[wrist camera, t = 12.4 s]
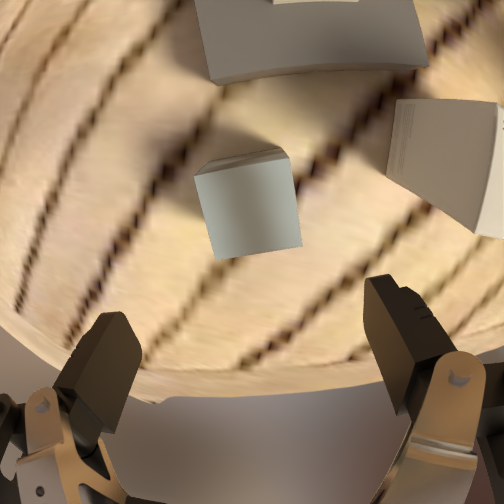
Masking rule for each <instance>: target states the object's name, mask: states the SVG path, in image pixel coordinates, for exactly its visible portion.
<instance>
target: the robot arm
mask: <svg viewBox="0 0 504 504" xmlns="http://www.w3.org/2000/svg"><path fill="white" fill-rule="evenodd" d="M363 323H364V330H365V334H366V336H367V339H368V341H369V344H370V346H371V349H372V351H373V354H374V356H375V359H376V361H377V364H378V367H379V369H380V372H381V374H382V377H383V380H384V382H385V385H386V388H387V390H388V393H389V396H390V399H391V402H392V404H393V407H394V410H395V413H396V416H399V415H403V414H406V413H409V415H410V418H411V424H410V426H409V428H408V430H407V433H406V435H405V438H404V440H403V442H402V444H401V447H400V449H399V451H398V453H397V455H396V457H395V460H394V461H393V463H392V465H391V467H390V469H389V471H388V473H387V475H386V477H385V479H384V480H383V482H382V484H381V485H380V487H379V489H378V490H377V492H376V494H375V495H374V497H373V498H372V500H371V502H370V503H369V504H464V501H465V499H466V496H467V494H468V491H469V488H470V485H471V482H472V479H473V476H474V473H475V469H476V466H477V454H476V453H473V443H474V440H475V437H476V438H477V441H478V444H479V446H480V450H481V453H482V456H483V459H484V462H485V465H486V469H487V472H488V476H489V479H490V483H491V487H492V490H493V495H494V499H495V503H496V504H504V362H502V363H493V364H482V362H481V361H480V360H479V359H478V358H477V357H476V356H474V355H472V354H470V353H468V352H463V351H458V350H457V349H456V347H455V346H454V344H453V343H452V341H451V340H450V338H449V336H448V335H447V333H446V332H445V330H444V329H443V328H442V326H441V325H440V323H439V322H438V320H437V319H436V317H434V316H433V313H432V312H431V310H430V309H429V307H428V308H427V305H426V303H425V302H424V301H423V299H422V298H421V296H420V295H419V294H418V293H416V292H414V291H413V290H411V289H410V288H408V287H407V286H406V287H401V288H399V286H398V285H397V283H396V282H395V281H394V279H393V278H392V276H391V275H390V274H385V275H379V276H374V277H369V278H366V279H365V284H364V310H363ZM141 360H142V349H141V345H140V343H139V341H138V339H137V337H136V335H135V334H134V332H133V330H132V328H131V326H130V324H129V322H128V320H127V318H126V316H125V315H124V313H122V312H120V311H119V312H107V313H101V314H100V315H99V317H98V318H97V320H96V321H95V323H94V324H93V326H92V328H91V329H90V330H89V331H88V332H87V333H86V334H85V335H83V336H82V338H81V339H80V341H79V343H78V344H77V346H76V349H74V351H73V352H72V354H71V357H69V359H68V361H67V362H66V364H65V366H64V368H63V369H62V371H61V373H60V374H59V376H58V378H57V380H56V381H55V383H54V385H53V387H52V388H51V387H43V388H40V389H38V390H36V391H35V392H34V393H33V394H32V395H31V396H30V397H29V399H28V401H27V403H23V404H16V403H15V402H14V401H13V400H12V399H11V397H10V396H9V395H7V394H0V463H1V460H2V458H3V455H4V453H5V450H6V448H7V446H8V443H9V441H11V442H12V443H13V444H14V445H15V446H16V447H17V448H18V449H20V450H21V451H22V452H23V454H22V456H21V458H18V459H17V461H16V473H15V476H14V479H13V480H12V481H10V480H8V479H7V478H5V477H4V476H3V474H2V473H1V470H0V504H166V503H161V502H155V501H150V500H144V499H140V498H135V497H131V496H130V495H129V494H128V493H127V492H126V491H125V490H124V489H123V488H122V486H121V484H120V483H119V481H118V479H117V476H116V474H115V471H114V469H113V466H112V464H111V461H110V459H109V456H108V454H107V451H106V449H105V446H104V443H103V441H102V439H101V438H99V436H100V433H101V432H106V433H111V434H115V431H116V428H117V425H118V422H119V419H120V416H121V413H122V411H123V408H124V405H125V402H126V400H127V397H128V394H129V391H130V389H131V386H132V383H133V381H134V378H135V376H136V373H137V370H138V368H139V365H140V363H141Z"/></svg>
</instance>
